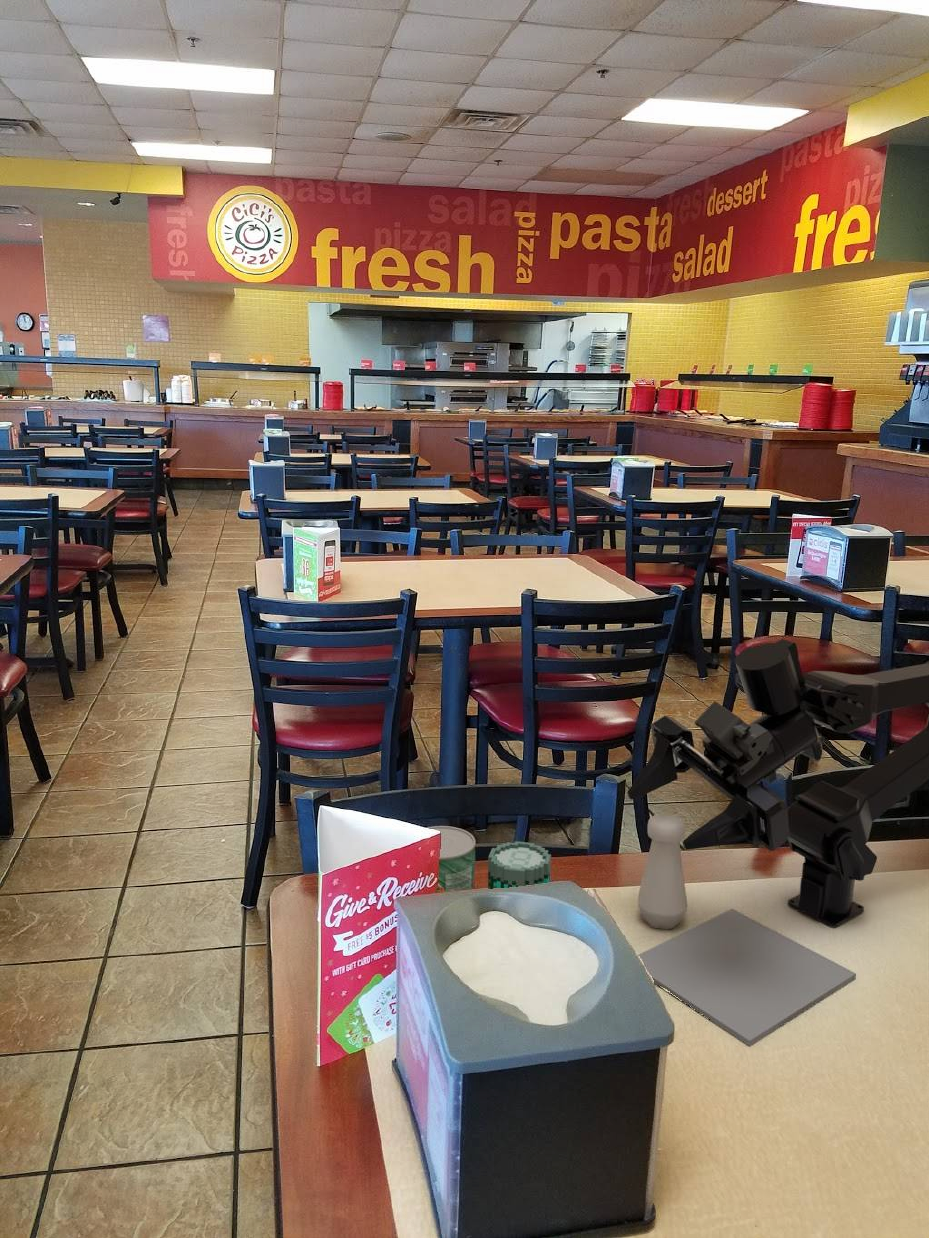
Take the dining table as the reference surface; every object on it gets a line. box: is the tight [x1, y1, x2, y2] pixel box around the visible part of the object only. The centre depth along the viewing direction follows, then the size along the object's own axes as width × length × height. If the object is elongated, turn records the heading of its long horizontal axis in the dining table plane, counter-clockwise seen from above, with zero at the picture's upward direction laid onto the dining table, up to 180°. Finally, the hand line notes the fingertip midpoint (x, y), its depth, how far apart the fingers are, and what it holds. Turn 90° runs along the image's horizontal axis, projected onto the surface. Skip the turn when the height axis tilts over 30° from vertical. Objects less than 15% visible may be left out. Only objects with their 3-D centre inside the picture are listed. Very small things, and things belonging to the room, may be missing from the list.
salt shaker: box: [637, 813, 688, 930], centre depth 106 cm, size 6×6×13 cm
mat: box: [637, 908, 857, 1047], centre depth 98 cm, size 18×16×1 cm
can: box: [487, 840, 552, 890], centre depth 93 cm, size 6×6×15 cm
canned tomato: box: [426, 825, 477, 892], centre depth 105 cm, size 8×8×11 cm
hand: (655, 819), depth 97 cm, fingers open, 9 cm apart
